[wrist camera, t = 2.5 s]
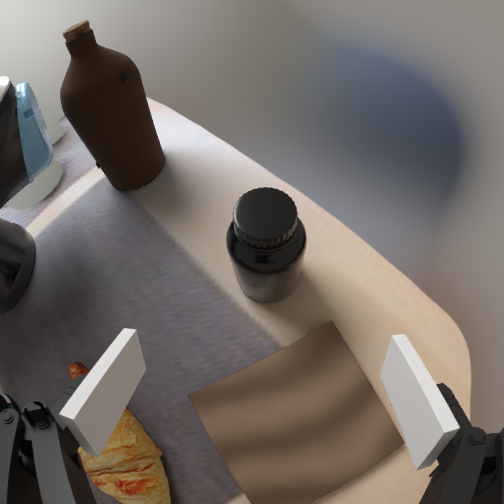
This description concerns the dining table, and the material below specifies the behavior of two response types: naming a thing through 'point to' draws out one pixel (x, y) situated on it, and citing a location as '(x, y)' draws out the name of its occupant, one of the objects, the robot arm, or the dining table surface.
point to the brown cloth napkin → (298, 421)
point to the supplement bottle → (266, 244)
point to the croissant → (127, 461)
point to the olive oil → (110, 110)
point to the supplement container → (7, 403)
